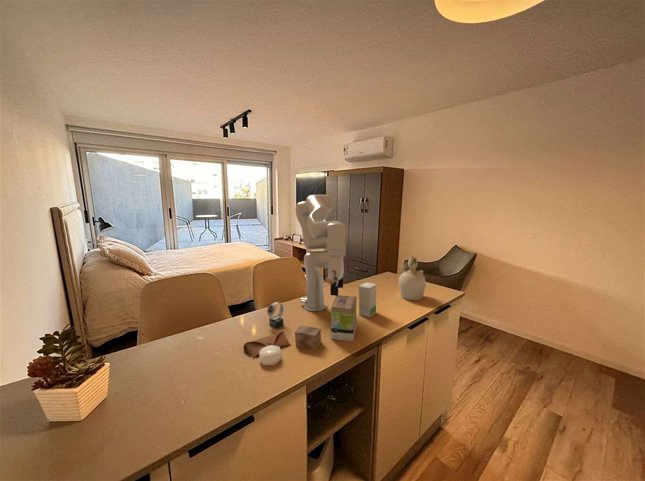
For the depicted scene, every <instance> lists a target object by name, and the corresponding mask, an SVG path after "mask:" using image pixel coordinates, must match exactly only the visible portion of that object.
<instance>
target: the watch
mask: <svg viewBox="0 0 645 481" xmlns="http://www.w3.org/2000/svg"><path fill="white" fill-rule="evenodd" d="M277 305H279V311H278V313H277V315H274V314H275V313H276V311H277V310H276V309H277ZM266 310H267V311H266V312H267V317H269V318H268V321H269V325H270V326H271V327H273V328H275V329H278V328H280V327H283V326H284V319H283V318H282V316H283V315H284V310H285V309H284V305H283V304H282V303H280V302H278V301H275V302H273V303H271V304H269V305H268V307H267V309H266ZM273 315H274V316H273Z"/></svg>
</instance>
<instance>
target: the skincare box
mask: <svg viewBox="0 0 645 481" xmlns="http://www.w3.org/2000/svg"><path fill="white" fill-rule="evenodd" d="M376 313H377V284H376V283H371V282H365V283H362V284H360V285H358V315H360V316H363V317H367V318H370V317H372V316H373V315H374V314H376Z"/></svg>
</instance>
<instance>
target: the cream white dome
mask: <svg viewBox="0 0 645 481" xmlns="http://www.w3.org/2000/svg"><path fill="white" fill-rule="evenodd" d="M280 360H282V348H281V349H280V347H278V346H275V345H270V346H266V347H264V348H262V349H261V350H260V352H259V363H260V362H261V363H262V364H265V365H272V366H274V365H273V364H275V365H277V364H279V363H280V362H281V361H280ZM279 361H280V362H279ZM278 362H279V363H278ZM261 363H260V364H261ZM276 363H277V364H276ZM262 364H261V365H262Z"/></svg>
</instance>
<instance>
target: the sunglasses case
mask: <svg viewBox="0 0 645 481" xmlns="http://www.w3.org/2000/svg"><path fill="white" fill-rule="evenodd" d="M270 345H275V346H278V347H280V349H281V350H282V349H284V348H287V347H290V346H292V344H291V343H290V342H289V340H288V339H287V337H286V335H285V332H284V331H280V332H277V333H275V334H271V335H267V336H264V337H262V338H261V337H260V338H258V339H256V340H255V339H254V340H252V341H248V342H245V343H244V345H243V351H244V350H245V351H244V353H245V354H246V353H247V354H248V355H249V356H250V357H252V358H255V357H257V358H259V357H260V356H259V352H260V350H261V349H262V348H264V347H266V346H270ZM283 347H284V348H283ZM247 354H246V355H247ZM248 355H247V356H248ZM249 356H248V357H249ZM258 356H259V357H258ZM250 357H249V358H250ZM255 359H256V358H255Z"/></svg>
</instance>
